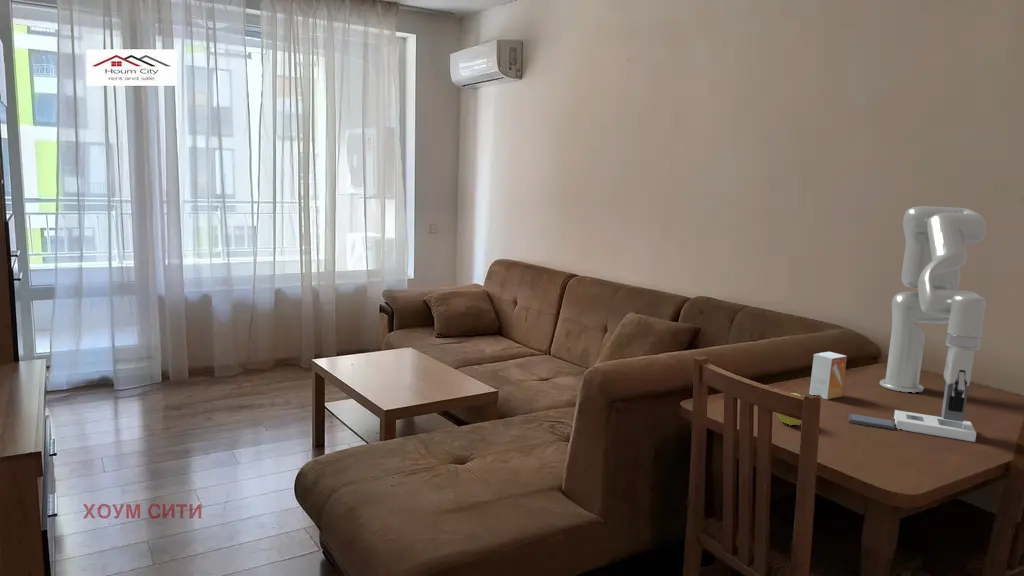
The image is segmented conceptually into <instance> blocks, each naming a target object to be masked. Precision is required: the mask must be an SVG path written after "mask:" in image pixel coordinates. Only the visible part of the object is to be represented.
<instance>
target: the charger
mask: <svg viewBox="0 0 1024 576" xmlns="http://www.w3.org/2000/svg"><path fill="white" fill-rule="evenodd" d="M955 384H956V385H958V383H957V382H955ZM956 388H957V387H955V389H956ZM968 391H969V386H967V387H966V385H965V393H964V404H963V411H962V412H956V411H949V410H948V405H949V398H950V395H951V393H952V383H951V384H950V385H949V384H948V383H947V382H946V381H945V386H944V391H943V392H944V393H943V398H942V399H943V401H942V408H941V417H943V419H946V420H953V421H959V422H963V421H965V413H966V407H967V406H966V405H967V399H968Z"/></svg>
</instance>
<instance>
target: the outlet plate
mask: <svg viewBox="0 0 1024 576" xmlns="http://www.w3.org/2000/svg"><path fill="white" fill-rule="evenodd" d="M894 419H895V421H894V426H895V425H896V426H895V429H896V428H897V429H896V430H900V429H902V430H901V431H907V432H913V433H919V434H924V435H931V436H937V437H941V438H942V437H943V438H947V439H949V438H950V439H955V440H961V441H967V442H974V443H976V439H977V438H976V437H977V431H976V430H975V428H974V426H973V424H972V422H971V421H968V420H964V421H963V422H959V421H953V420H946V419H943V417H942V416H937V415H929V414H922V413H916V412H911V411H910V412H909V411H904V410H899V409H894V415H893V420H894Z"/></svg>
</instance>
